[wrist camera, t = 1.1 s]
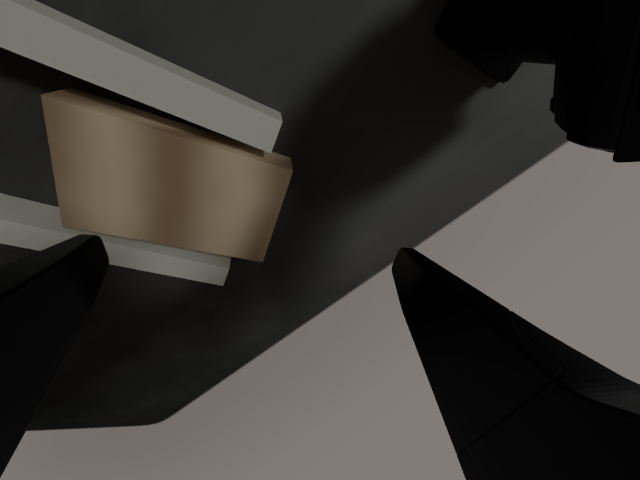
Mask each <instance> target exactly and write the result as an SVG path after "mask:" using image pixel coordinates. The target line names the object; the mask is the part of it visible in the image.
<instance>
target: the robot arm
mask: <svg viewBox="0 0 640 480" xmlns="http://www.w3.org/2000/svg"><path fill="white" fill-rule="evenodd" d="M445 24H447V31H446V32H445V33H443V27H444V25H445ZM435 33H436V36H437V38H438V39H440V40H441V41H442V42H444V43H445V44H447V45H448V46H449V47H451V48H452V49H453V50H455V51H456V52H458V53H459V54H460V55H462V56H463V57H464V58H466V59H467V60H468V61H470V62H471V63H473V64H474V65H475V66H477V67H478V68H479V69H481V70H482V71H484V72H485V73H486V74H488V75H489V76H490V77H492V78H493V79H495V80H496V81H498V82H502V83H504V82H507V81H509V80H510V78H511V77H512V76H513V75H514V73H515V72H516V70H517V69H518V68H519V66H520V65H521V64H522V62H529V63H541V64H553V65H556V67H555V80H554V93H553V98H551V101H550V111H552V112H553V113H554V114H555V123H556V124H557V125H558V126H559V127H560V128H561V129H562V130H563V131H565V132H567V138H566V139H567V140H568V141H570V142H573V143H576V144H579V145H582V146H585V147H587V148H593V149H598V150H604V151H607V152H612V153H614V155H613V161H615V162H638V161H640V0H450V2H449V4H448V5H447V7H446V9H445V11H444V13H443V15H442V16H441V18H440V20H439V22H438V24H437V26H436V30H435ZM505 71H506V74H505V76H504V77H503V73H504V72H505ZM108 266H109V257H108V254H107V252H106V249H105V246H104V243H103V241H102V239H101V237H100V236H98V235H91V234H80V235H77V236H74V237H72V238H70V239H67V240H65V241H63V242H60V243H58V244H55V245H53V246H51V247H48V248H46V249H44V250H41V251H39V252H36V253H34V254H32V255H29V256H27V257H25V258H22V259H20V260H17V261H15V262H13V263H10V264H8V265H5V266H3V267H1V268H0V477H1V475H2V474H3V472H4V470H5V468H6V466H7V464H8V463H9V461H10V459H11V457H12V455H13V453H14V452H15V450H16V448H17V446H18V444H19V442H20V441H21V439H22V437H23V435H24V433H25V431H26V430H27V428H28V426H29V424H30V422H31V420H32V419H33V417H34V415H35V413H36V411H37V409H38V408H39V406H40V404H41V402H42V400H43V399H44V397H45V395H46V393H47V391H48V389H49V388H50V386H51V384H52V382H53V380H54V378H55V377H56V375H57V373H58V371H59V369H60V367H61V366H62V364H63V362H64V360H65V358H66V356H67V355H68V353H69V351H70V349H71V347H72V345H73V344H74V342H75V340H76V338H77V336H78V334H79V333H80V331H81V329H82V327H83V325H84V323H85V322H86V320H87V318H88V316H89V314H90V311H91V309H92V307H93V304H94V302H95V299H96V297H97V294H98V292H99V289H100V287H101V284H102V282H103V279H104V277H105V274H106V271H107V269H108ZM392 273H393V278H394V281H395V285H396V289H397V293H398V297H399V301H400V304H401V308H402V311H403V314H404V316H405V319H406V322H407V325H408V327H409V330H410V333H411V335H412V338H413V341H414V343H415V346H416V348H417V351H418V354H419V356H420V359H421V362H422V364H423V367H424V369H425V372H426V375H427V377H428V380H429V383H430V385H431V388H432V390H433V393H434V396H435V399H436V401H437V404H438V406H439V409H440V412H441V414H442V417H443V419H444V422H445V425H446V427H447V430H448V433H449V435H450V438H451V441H452V443H453V446H454V449H455V451H456V453H457V457H458V460H459V462H460V465H461V468H462V470H463V473H464V476H465V478H466V480H640V384H637V383H635V382H633V381H631V380H628V379H626V378H624V377H623V376H621V375H619V374H617V373H615V372H614V371H612V370H610V369H608V368H607V367H605V366H603V365H601V364H599V363H598V362H596V361H594V360H593V359H591V358H589V357H587V356H586V355H584V354H582V353H580V352H578V351H577V350H575V349H573V348H572V347H570V346H568V345H566V344H565V343H563V342H561V341H560V340H558V339H556V338H554V337H553V336H551V335H549V334H547V333H546V332H544V331H542V330H541V329H539V328H538V327H536V326H534V325H533V324H531V323H530V322H528V321H526V320H525V319H523V318H522V317H520V316H518V315H517V314H515V313H514V312H512V311H509V309H507V308H506V307H504V306H503V305H501V304H500V303H498V302H496V301H495V300H493V299H492V298H490V297H489V296H487V295H485V294H484V293H482V292H481V291H479V290H478V289H476V288H474V287H473V286H471V285H470V284H468V283H466V282H465V281H463V280H462V279H460V278H459V277H457V276H456V275H454V274H452V273H451V272H449V271H448V270H446V269H445V268H443V267H441V266H440V265H438V264H437V263H435V262H434V261H432V260H430V259H429V258H427V257H425V256H424V255H423V254H421V253H419V252H418V251H416V250H415V249H413V248H401V249H400V250H399V251H398V253H397V256H396V258H395V260H394V263H393V265H392Z"/></svg>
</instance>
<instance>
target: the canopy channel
mask: <svg viewBox="0 0 640 480" xmlns="http://www.w3.org/2000/svg"><path fill="white" fill-rule="evenodd" d="M0 47H1V48H4V49H7V50H9V51H12V52H14V53H17V54H19V55H22V56H24V57H27V58H29V59H32V60H34V61H37V62H40V63H42V64H45V65H47V66H50V67H52V68H55V69H57V70H60V71H62V72H65V73H68V74H70V75H73V76H75V77H78V78H80V79H83V80H85V81H88V82H90V83H93V84H96V85H98V86H101V87H103V88H106V89H108V90H111V91H113V92H116V93H118V94H121V95H124V96H126V97H129V98H131V99H134V100H136V101H139V102H141V103H144V104H146V105H149V106H152V107H154V108H157V109H159V110H162V111H164V112H167V113H169V114H172V115H174V116H177V117H180V118H182V119H185V120H187V121H190V122H192V123H195V124H197V125H200V126H202V127H205V128H208V129H210V130H213V131H215V132H218V133H220V134H223V135H225V136H228V137H230V138H233V139H236V140H238V141H241V142H243V143H246V144H248V145H251V146H253V147H256V148H258V149H261V150H264V151H266V152H269V153H271V152H272V149H273V146H274V144H275V141H276V138H277V135H278V133H279V130H280V127H281V124H282V117H281V113H280V112H278V111H276V110H274V109H272V108H269V107H267V106H265V105H263V104H261V103H258V102H256V101H254V100H252V99H250V98H247V97H245V96H243V95H241V94H239V93H237V92H234V91H232V90H230V89H228V88H226V87H223V86H221V85H219V84H217V83H215V82H212V81H210V80H208V79H206V78H204V77H202V76H199V75H197V74H195V73H193V72H191V71H188V70H186V69H184V68H182V67H180V66H177V65H175V64H173V63H171V62H169V61H167V60H164V59H162V58H160V57H158V56H156V55H153V54H151V53H149V52H147V51H145V50H142V49H140V48H138V47H136V46H134V45H132V44H129V43H127V42H125V41H123V40H121V39H118V38H116V37H114V36H112V35H110V34H107V33H105V32H103V31H101V30H99V29H97V28H94V27H92V26H90V25H88V24H86V23H83V22H81V21H79V20H77V19H75V18H72V17H70V16H68V15H66V14H64V13H62V12H59V11H57V10H55V9H53V8H51V7H48V6H46V5H44V4H42V3H40V2H37V1H35V0H0ZM80 234H91V235H98V236H100V237H101V239H102V241H103V243H104V246H105V249H106V252H107V254H108V257H109V264H111V265H116V266H121V267H127V268H132V269H137V270H142V271H147V272H153V273H158V274H163V275H168V276H173V277H179V278H184V279H189V280H194V281H199V282H205V283H210V284H215V285H220V286H223V285H224V282H225V279H226V277H227V274H228V271H229V268H230V262H231V257H230V256H225V255H219V254H213V253H208V252H202V251H197V250H191V249H186V248H180V247H175V246H169V245H163V244H158V243H152V242H147V241H141V240H136V239H130V238H124V237H119V236H113V235H108V234H102V233H97V232H91V231H85V230H80V229H74V228H69V227H63V226H62V223H61V216H60V210H59V207H55V206H51V205H47V204H43V203H39V202H35V201H30V200H26V199H22V198H18V197H14V196H10V195H6V194H2V193H0V243H1V244H7V245H12V246H17V247H22V248H27V249H33V250H38V251H41V250H44V249H46V248H48V247H51V246H53V245H55V244H58V243H60V242H63V241H65V240H67V239H70V238H72V237H74V236H77V235H80Z"/></svg>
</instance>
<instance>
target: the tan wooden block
mask: <svg viewBox="0 0 640 480" xmlns="http://www.w3.org/2000/svg"><path fill="white" fill-rule="evenodd" d="M41 99H42V105H43V111H44V117H45V123H46V130H47V136H48V142H49V148H50V154H51V161H52V167H53V173H54V179H55V185H56V192H57V198H58V204H59V210H60V216H61V223H62V226H63V227H69V228H74V229H80V230H85V231H91V232H97V233H102V234H108V235H113V236H119V237H124V238H130V239H136V240H141V241H147V242H152V243H158V244H163V245H169V246H175V247H180V248H186V249H191V250H197V251H202V252H208V253H213V254H219V255H225V256H230V257H236V258H241V259H247V260H252V261H258V262H263V260H264V257H265V254H266V251H267V248H268V245H269V242H270V239H271V236H272V233H273V230H274V227H275V224H276V221H277V218H278V215H279V212H280V209H281V206H282V203H283V200H284V197H285V194H286V191H287V188H288V185H289V182H290V179H291V176H292V173H293V168H292V163H291V158H290V157H287V156H284V155H281V154H278V153H274V152H271V153H269V152H266V151H264V150H261V149H258V148H256V147H253V146H251V145H248V144H246V143H243V142H240V141H237V140H234V139H231V138H227V137H224V136H221V135H218V134H215V133H212V132H209V131H205V130H202V129H199V128H196V127H193V126H190V125H187V124H184V123H180V122H177V121H174V120H171V119H168V118H165V117H162V116H159V115H155V114H152V113H149V112H146V111H143V110H140V109H137V108H133V107H130V106H127V105H124V104H121V103H118V102H115V101H112V100H108V99H105V98H102V97H99V96H96V95H93V94H90V93H87V92H83V91H80V90H77V89H74V88H67V89H63V90H58V91H54V92H50V93H45V94H41Z"/></svg>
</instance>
